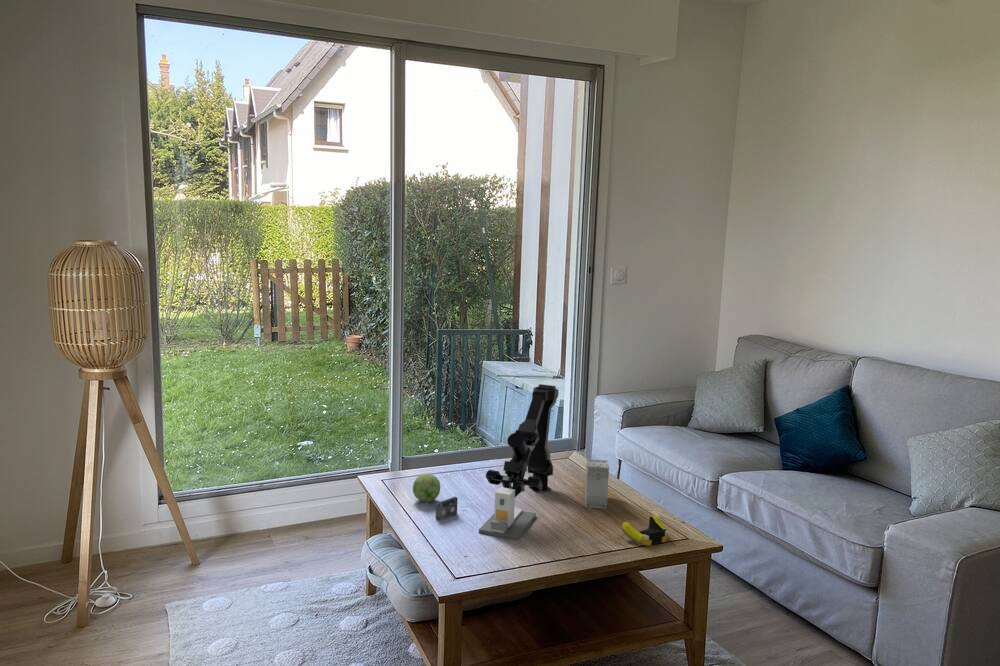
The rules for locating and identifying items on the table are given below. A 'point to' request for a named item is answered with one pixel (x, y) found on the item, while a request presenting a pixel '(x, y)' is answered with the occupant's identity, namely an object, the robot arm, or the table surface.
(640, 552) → the table surface
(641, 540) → the gaming controller
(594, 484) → the circuit breaker
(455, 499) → the mini dv tape
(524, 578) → the table surface
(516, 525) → the din rail plate
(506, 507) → the block
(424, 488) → the decorative ball
